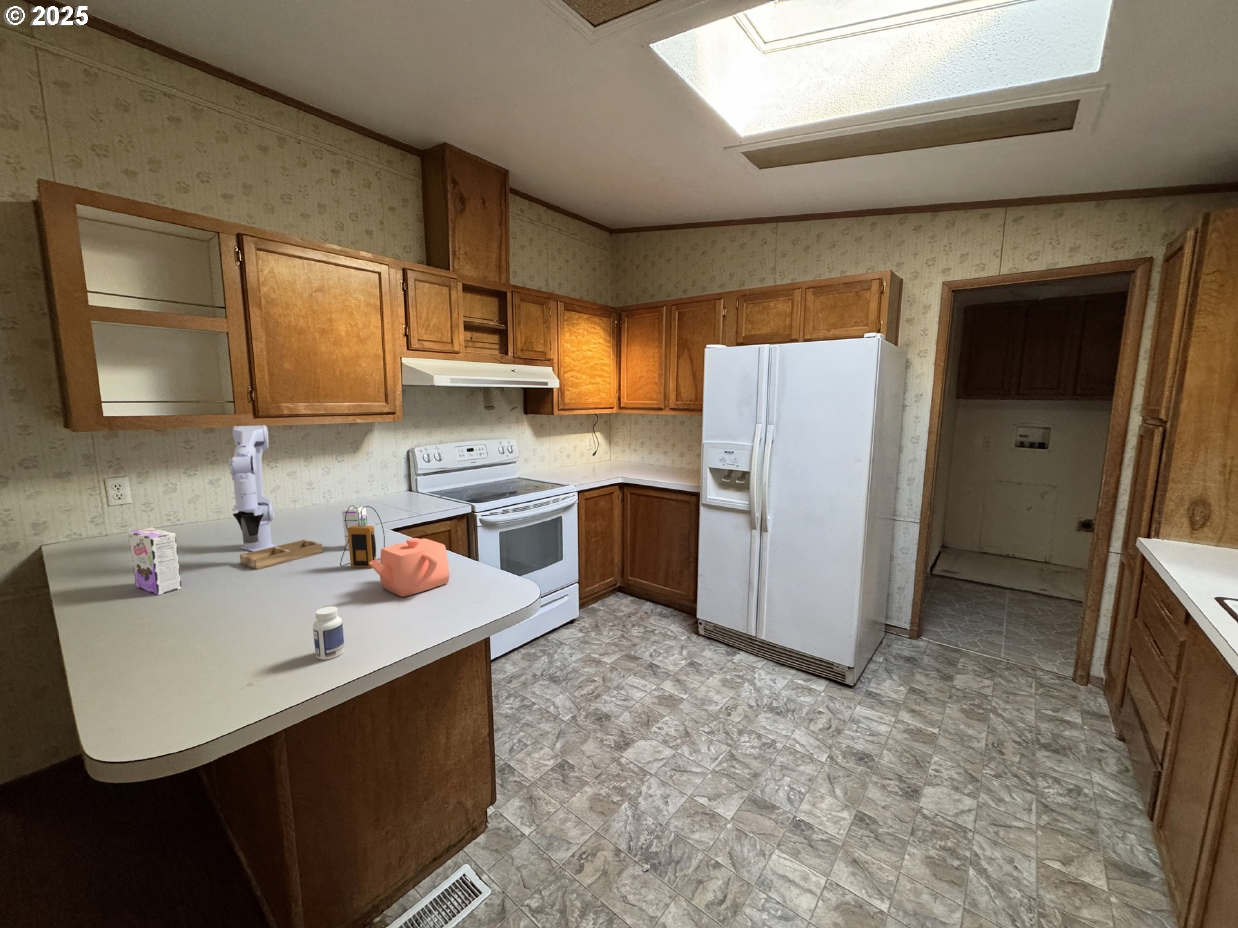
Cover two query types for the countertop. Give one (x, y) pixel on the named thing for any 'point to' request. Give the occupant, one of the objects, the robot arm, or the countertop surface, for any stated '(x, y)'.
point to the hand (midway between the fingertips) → (250, 534)
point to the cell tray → (280, 554)
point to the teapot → (412, 566)
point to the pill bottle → (328, 634)
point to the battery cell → (247, 534)
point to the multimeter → (361, 543)
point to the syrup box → (353, 520)
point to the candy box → (155, 560)
